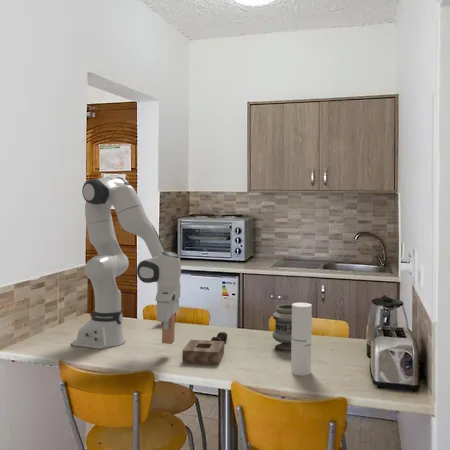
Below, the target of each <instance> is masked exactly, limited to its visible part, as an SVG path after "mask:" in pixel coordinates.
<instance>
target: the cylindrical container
mask: <svg viewBox="0 0 450 450" xmlns="http://www.w3.org/2000/svg"><path fill="white" fill-rule="evenodd" d="M291 305H292V339H291V352H290V353H291V354H290V355H291V356H290V371H291V374H292V375H295V376H302V377H303V376H308V375H311V373H312V372H311V371H312V365H311V364H312V325H313V324H312V323H313V321H312V320H313V319H312V318H313V317H312V314H313V313H312V312H313V309H312V308H313V305H312V304H311V303H308V302H293V303H292V304H291Z"/></svg>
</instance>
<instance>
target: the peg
mask: <svg viewBox="0 0 450 450" xmlns="http://www.w3.org/2000/svg"><path fill="white" fill-rule="evenodd" d="M175 324H176V319H175V312H174V313H173V314H172V317H171V318H170V319H169V329H164V323H163V322H161V325H162V327H161V344H166V345H167V344H168V345H173V343H174V342H175V326H176V325H175Z"/></svg>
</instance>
